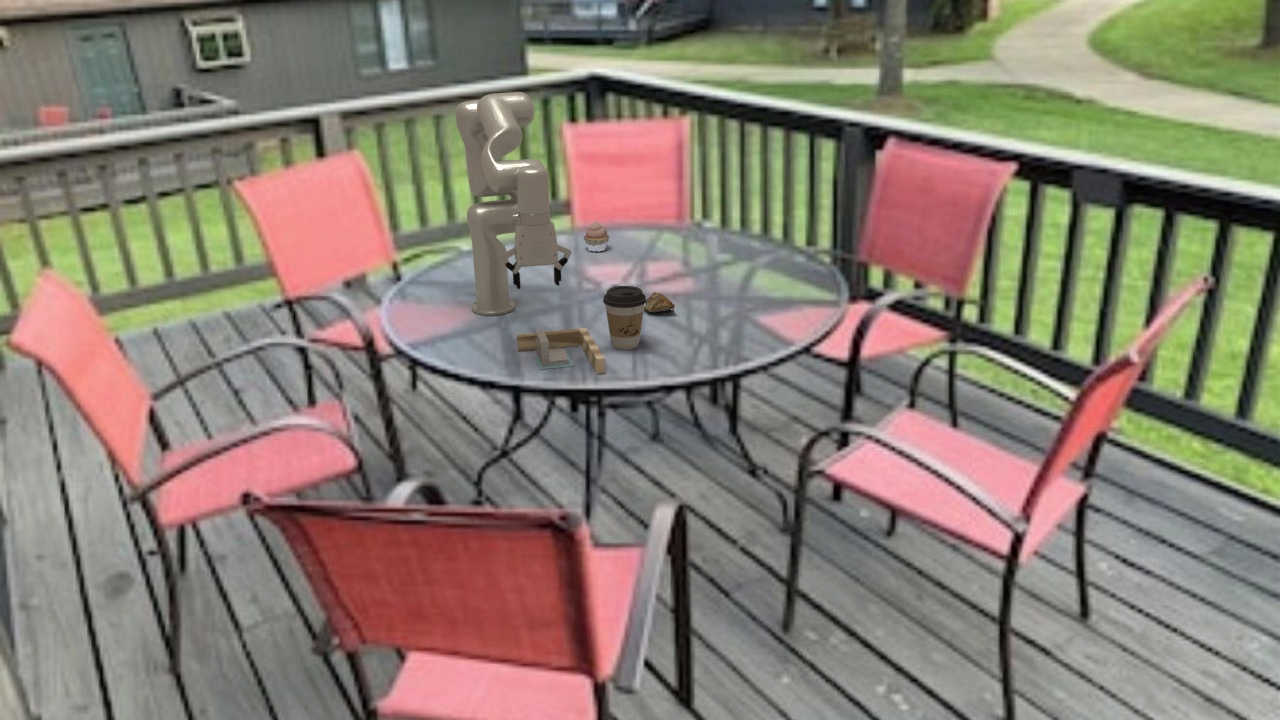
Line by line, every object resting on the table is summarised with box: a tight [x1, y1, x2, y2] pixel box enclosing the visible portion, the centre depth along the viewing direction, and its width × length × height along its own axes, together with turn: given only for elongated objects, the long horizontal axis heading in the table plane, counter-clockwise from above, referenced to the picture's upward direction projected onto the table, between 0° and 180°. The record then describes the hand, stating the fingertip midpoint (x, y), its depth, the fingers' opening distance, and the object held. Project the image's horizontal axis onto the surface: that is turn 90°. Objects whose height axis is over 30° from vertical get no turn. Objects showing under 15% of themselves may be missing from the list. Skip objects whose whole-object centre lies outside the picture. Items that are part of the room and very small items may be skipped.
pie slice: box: [643, 291, 676, 313], centre depth 288 cm, size 10×4×15 cm
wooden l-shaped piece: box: [516, 327, 606, 375], centre depth 253 cm, size 22×18×4 cm
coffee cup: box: [602, 285, 647, 351], centre depth 261 cm, size 11×11×15 cm
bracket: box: [534, 329, 569, 368], centre depth 252 cm, size 8×7×7 cm
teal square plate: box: [534, 352, 575, 371], centre depth 253 cm, size 9×8×1 cm
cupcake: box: [583, 221, 610, 246], centre depth 343 cm, size 9×9×10 cm
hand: (537, 285), depth 245 cm, fingers open, 9 cm apart
